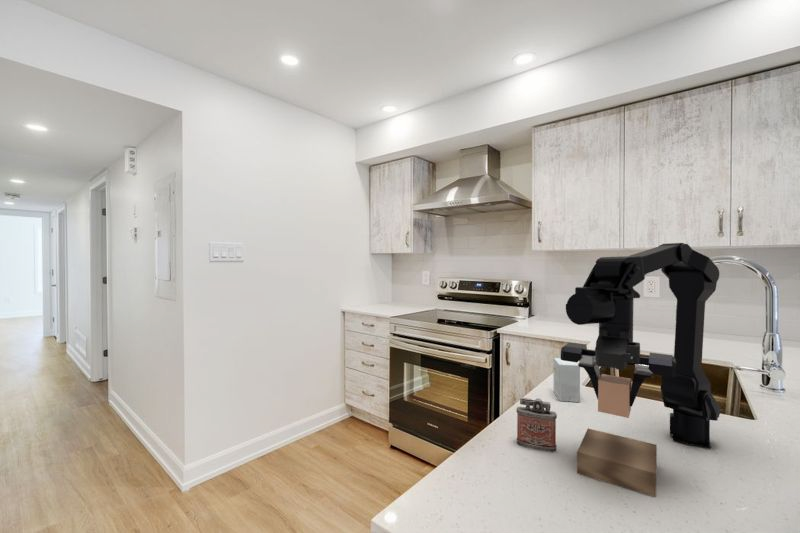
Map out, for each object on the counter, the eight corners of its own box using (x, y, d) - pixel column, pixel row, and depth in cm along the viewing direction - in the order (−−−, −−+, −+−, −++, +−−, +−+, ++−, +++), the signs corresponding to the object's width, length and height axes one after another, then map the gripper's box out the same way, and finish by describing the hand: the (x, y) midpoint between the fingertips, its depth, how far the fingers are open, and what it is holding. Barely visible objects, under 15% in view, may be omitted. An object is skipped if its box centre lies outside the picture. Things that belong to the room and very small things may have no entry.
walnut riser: (656, 465, 71) (656, 444, 71) (655, 497, 61) (655, 473, 61) (587, 447, 78) (587, 428, 78) (577, 473, 68) (577, 451, 68)
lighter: (556, 446, 78) (557, 399, 78) (556, 453, 75) (556, 405, 75) (517, 438, 82) (517, 393, 82) (515, 445, 79) (515, 399, 79)
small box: (580, 403, 103) (580, 365, 103) (558, 401, 104) (559, 364, 104) (572, 393, 111) (573, 358, 111) (553, 391, 112) (553, 357, 112)
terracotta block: (630, 409, 72) (631, 378, 71) (628, 418, 67) (629, 385, 67) (601, 403, 74) (602, 374, 74) (597, 411, 70) (598, 380, 70)
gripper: (554, 321, 70) (553, 403, 70) (676, 333, 59) (675, 430, 59) (567, 315, 79) (566, 388, 79) (675, 324, 68) (674, 409, 68)
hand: (614, 402), depth 71 cm, fingers closed on terracotta block, 5 cm apart
